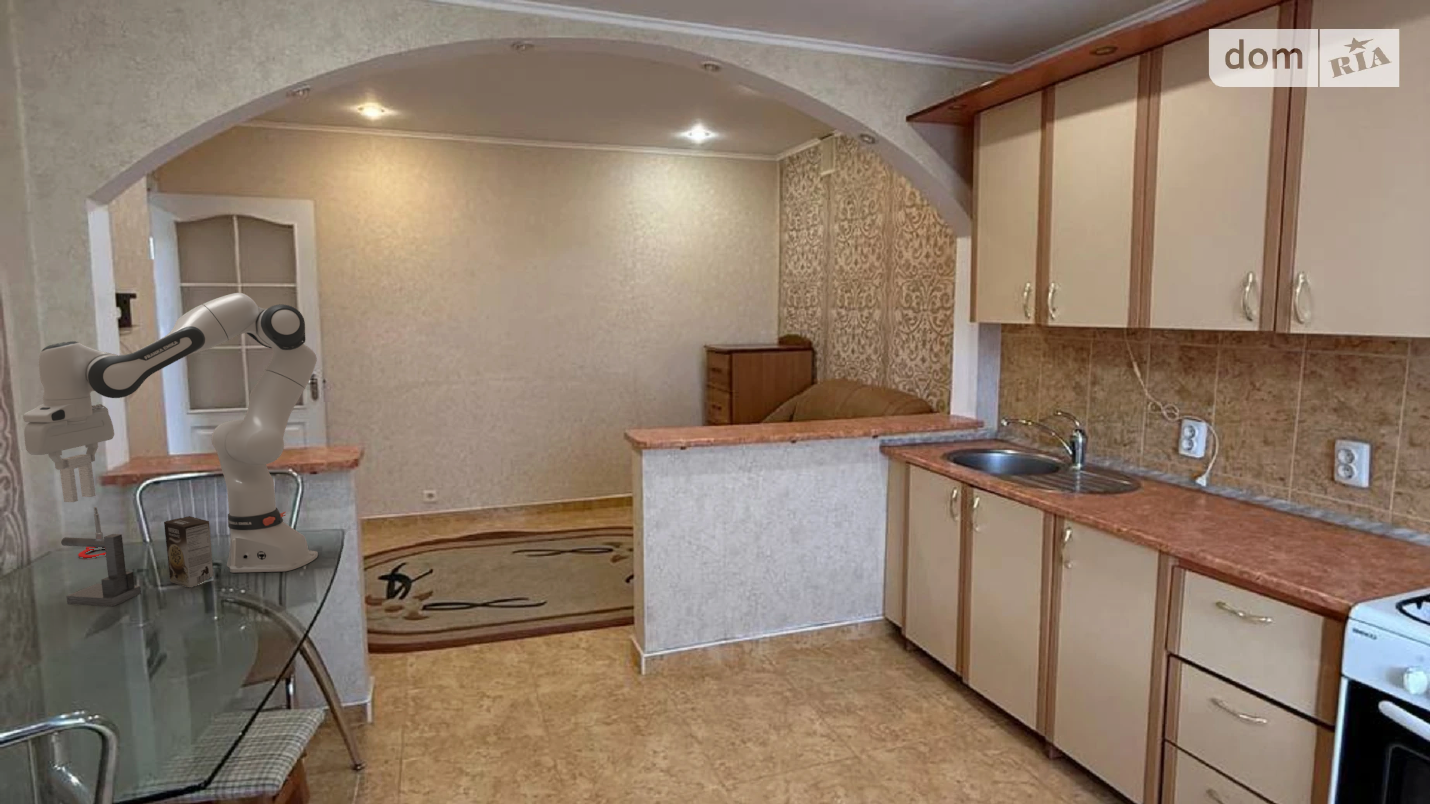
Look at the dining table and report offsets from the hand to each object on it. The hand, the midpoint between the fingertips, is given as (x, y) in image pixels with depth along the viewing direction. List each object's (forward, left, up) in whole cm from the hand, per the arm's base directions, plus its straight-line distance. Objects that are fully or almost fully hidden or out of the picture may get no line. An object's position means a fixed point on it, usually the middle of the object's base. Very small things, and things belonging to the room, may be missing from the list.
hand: (75, 465), depth 189 cm
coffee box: (-21, -8, -32) cm, 39 cm away
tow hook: (+22, -24, -32) cm, 46 cm away
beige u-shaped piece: (0, 0, -8) cm, 8 cm away
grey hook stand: (-7, +5, -32) cm, 33 cm away
